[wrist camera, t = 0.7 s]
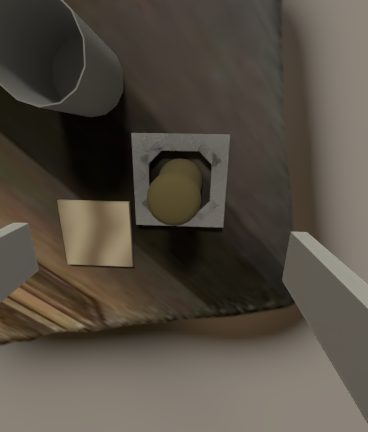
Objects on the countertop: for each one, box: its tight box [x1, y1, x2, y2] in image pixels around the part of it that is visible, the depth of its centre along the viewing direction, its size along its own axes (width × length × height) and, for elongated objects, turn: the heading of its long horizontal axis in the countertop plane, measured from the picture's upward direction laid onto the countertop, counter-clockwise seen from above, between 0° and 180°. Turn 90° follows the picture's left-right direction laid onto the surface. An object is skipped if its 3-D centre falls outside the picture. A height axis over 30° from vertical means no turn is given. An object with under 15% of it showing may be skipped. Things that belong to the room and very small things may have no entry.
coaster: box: [57, 200, 134, 267], centre depth 34 cm, size 10×10×1 cm
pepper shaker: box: [147, 158, 203, 226], centre depth 26 cm, size 6×6×11 cm
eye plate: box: [131, 133, 230, 227], centre depth 30 cm, size 12×12×1 cm
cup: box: [0, 0, 123, 117], centre depth 23 cm, size 8×8×10 cm
